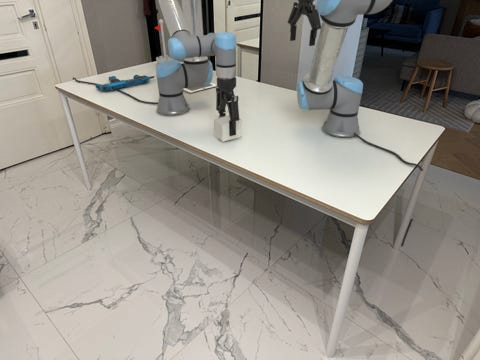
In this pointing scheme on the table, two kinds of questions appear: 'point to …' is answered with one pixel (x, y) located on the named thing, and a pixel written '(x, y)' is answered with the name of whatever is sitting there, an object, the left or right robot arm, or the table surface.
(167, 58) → the flag stand
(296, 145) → the table surface
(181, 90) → the left robot arm
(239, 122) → the block
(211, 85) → the tablet
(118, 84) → the submachine gun
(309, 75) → the right robot arm
